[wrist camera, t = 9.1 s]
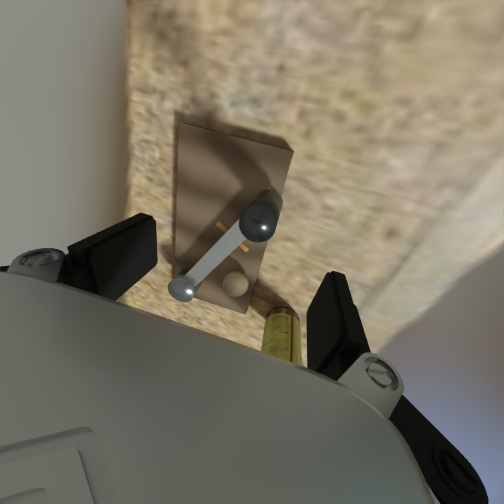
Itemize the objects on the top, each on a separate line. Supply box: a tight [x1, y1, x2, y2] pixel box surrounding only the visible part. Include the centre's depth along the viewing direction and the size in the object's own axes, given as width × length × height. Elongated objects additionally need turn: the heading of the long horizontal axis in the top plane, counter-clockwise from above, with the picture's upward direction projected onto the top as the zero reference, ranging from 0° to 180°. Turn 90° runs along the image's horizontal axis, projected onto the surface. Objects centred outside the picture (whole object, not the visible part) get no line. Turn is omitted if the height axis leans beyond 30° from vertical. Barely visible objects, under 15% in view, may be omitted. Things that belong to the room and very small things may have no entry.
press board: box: [174, 122, 294, 314], centre depth 29 cm, size 27×14×6 cm, turn 167°
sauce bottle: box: [261, 307, 302, 366], centre depth 29 cm, size 7×6×20 cm
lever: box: [168, 187, 283, 302], centre depth 26 cm, size 24×4×10 cm, turn 137°
